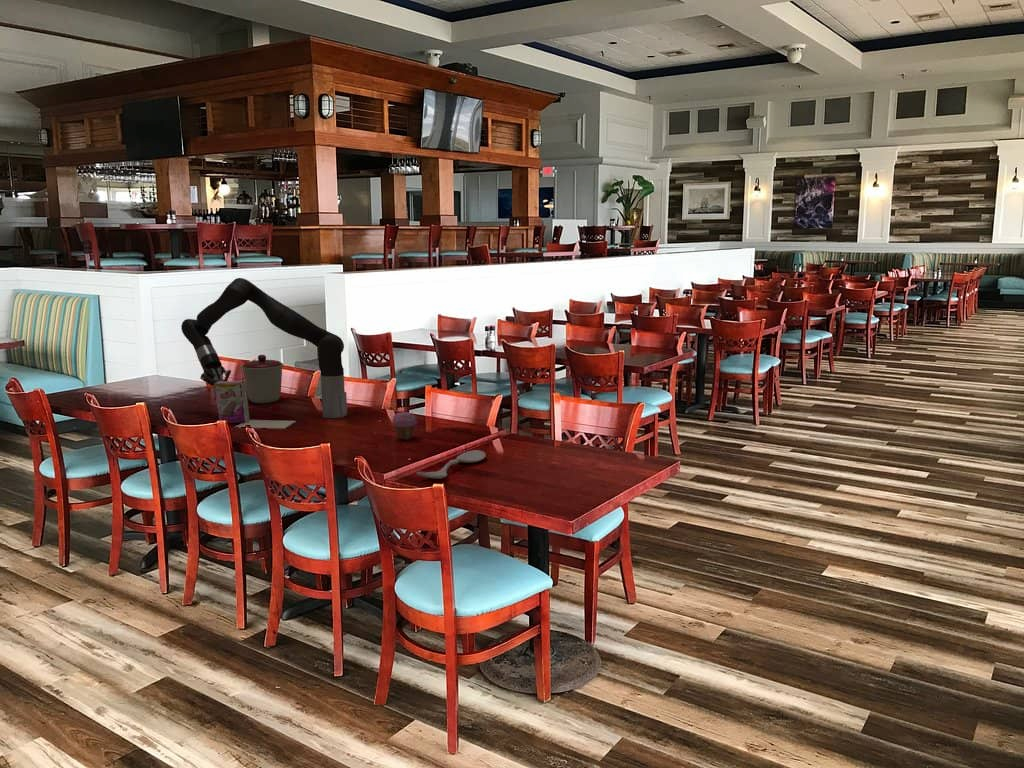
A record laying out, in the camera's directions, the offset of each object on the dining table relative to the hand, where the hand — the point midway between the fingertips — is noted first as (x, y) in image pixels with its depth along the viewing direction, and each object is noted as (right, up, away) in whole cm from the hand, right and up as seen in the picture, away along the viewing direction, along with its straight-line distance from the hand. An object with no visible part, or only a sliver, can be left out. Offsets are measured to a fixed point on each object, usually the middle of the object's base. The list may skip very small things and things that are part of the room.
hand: (223, 391), depth 331 cm
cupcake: (+77, -17, -30) cm, 85 cm away
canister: (+6, -5, +36) cm, 37 cm away
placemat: (+19, -13, -8) cm, 25 cm away
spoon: (+98, -25, -69) cm, 122 cm away
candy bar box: (+6, -12, -4) cm, 14 cm away
